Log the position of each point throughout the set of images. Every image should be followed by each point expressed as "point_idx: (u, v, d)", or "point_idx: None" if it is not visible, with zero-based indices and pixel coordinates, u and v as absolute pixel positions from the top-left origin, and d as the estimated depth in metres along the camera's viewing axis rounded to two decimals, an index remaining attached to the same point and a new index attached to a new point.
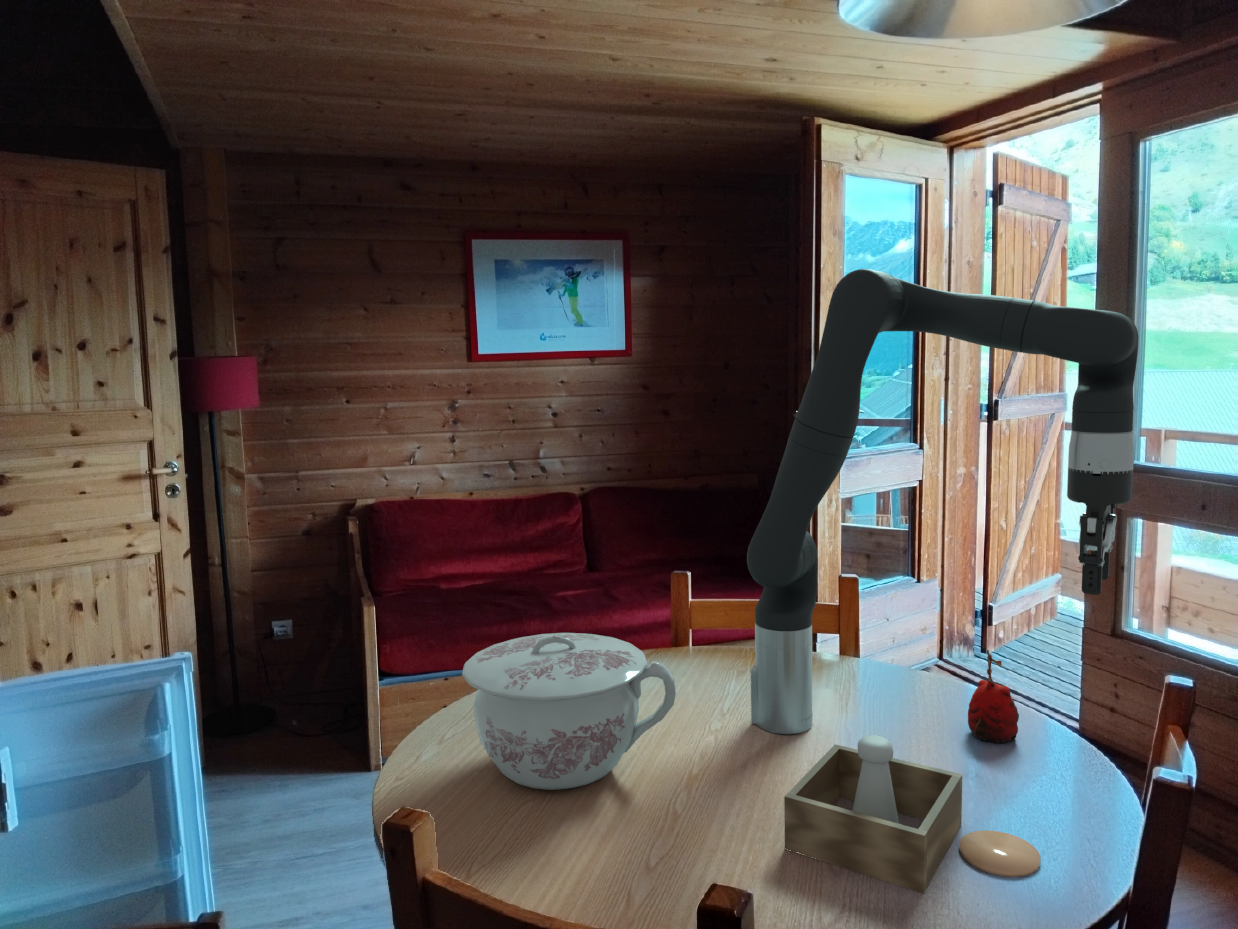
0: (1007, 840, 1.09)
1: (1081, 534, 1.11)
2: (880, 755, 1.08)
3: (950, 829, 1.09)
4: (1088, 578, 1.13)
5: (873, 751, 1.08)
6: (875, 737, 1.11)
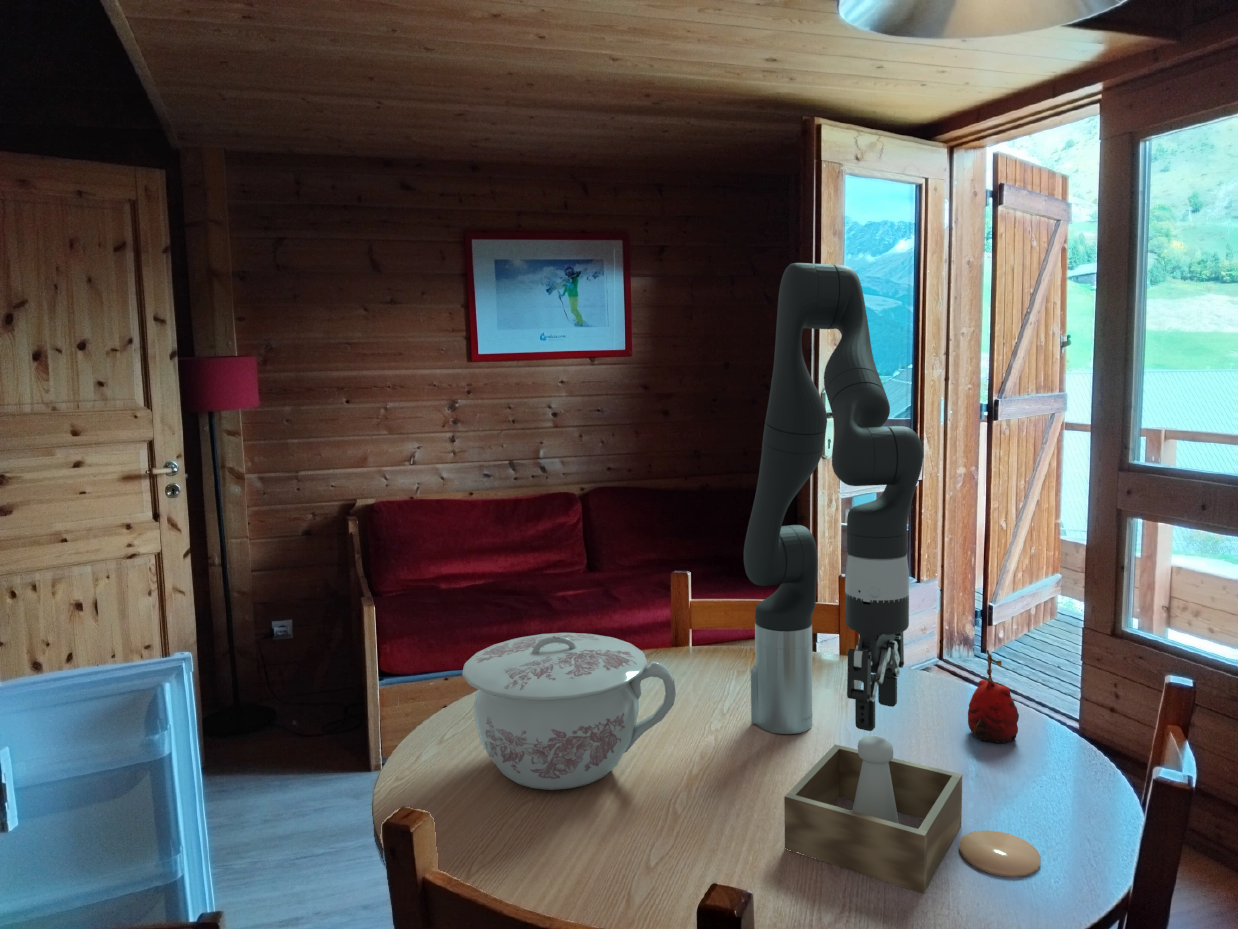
0: (1007, 840, 1.09)
1: (848, 668, 1.03)
2: (880, 755, 1.08)
3: (950, 829, 1.09)
4: (860, 714, 1.05)
5: (873, 751, 1.08)
6: (875, 737, 1.11)
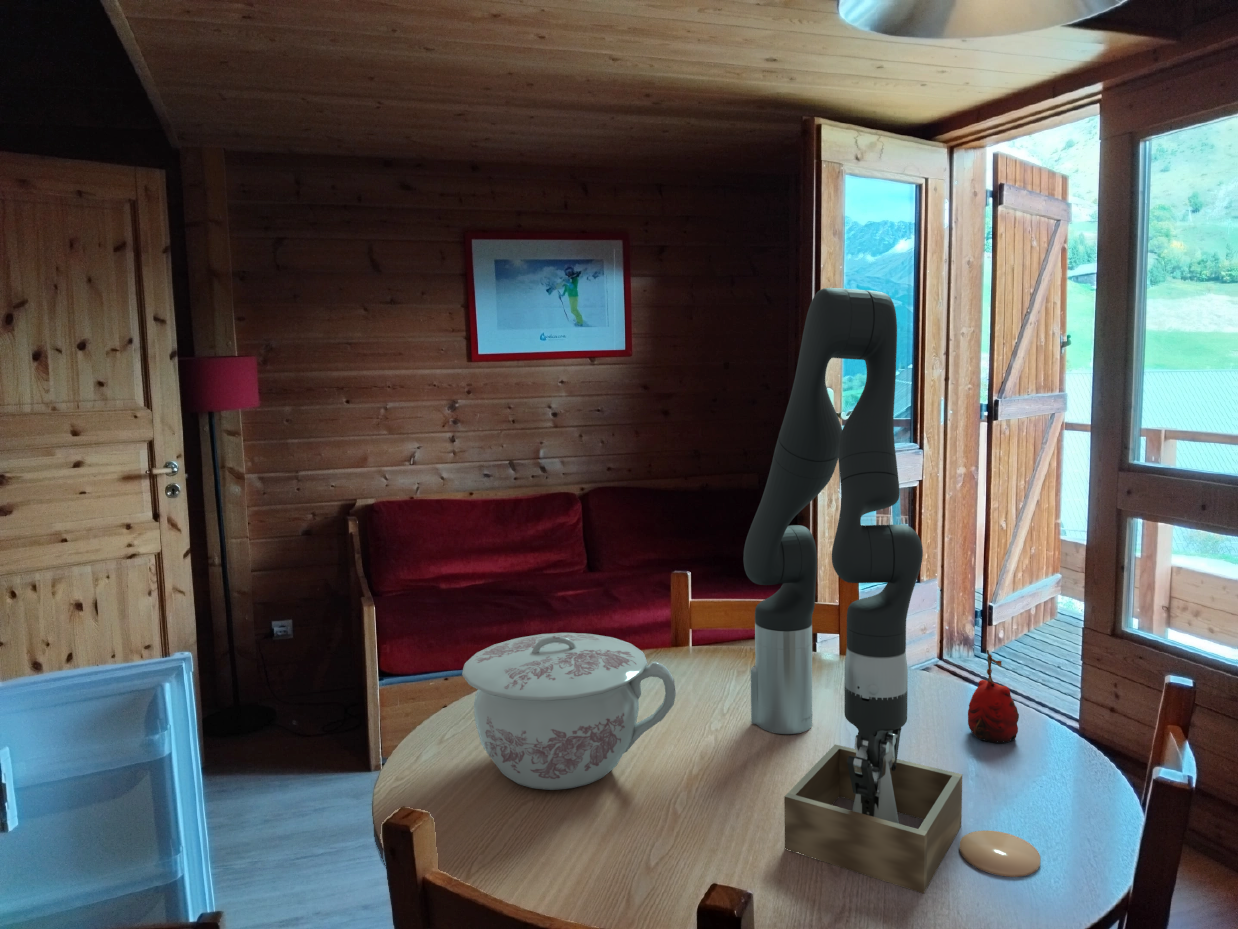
0: (1007, 840, 1.09)
1: (850, 774, 1.06)
2: None
3: (950, 829, 1.09)
4: (865, 807, 1.09)
5: None
6: None
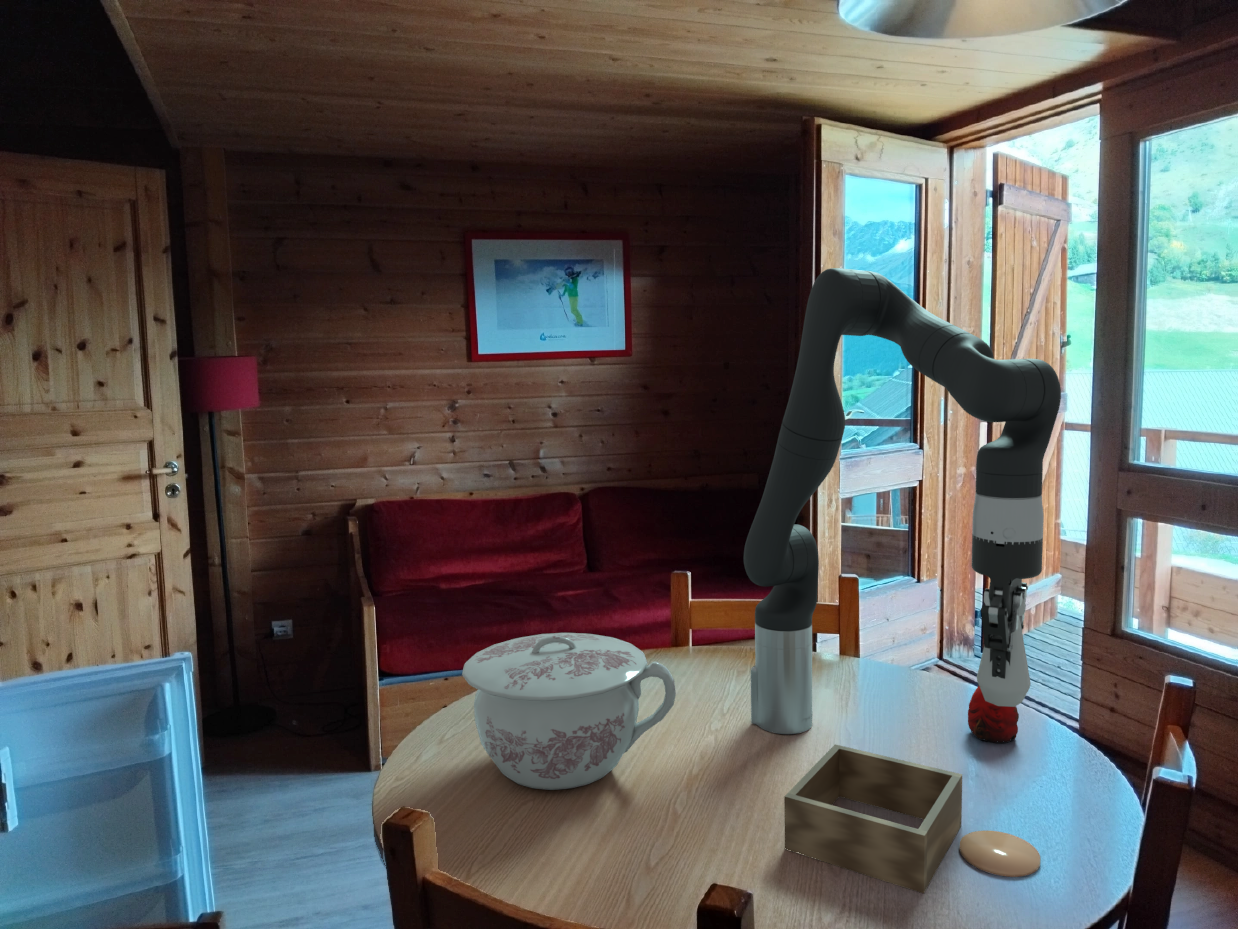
0: (1007, 840, 1.09)
1: (983, 625, 0.99)
2: None
3: (950, 829, 1.09)
4: (995, 664, 1.02)
5: None
6: None
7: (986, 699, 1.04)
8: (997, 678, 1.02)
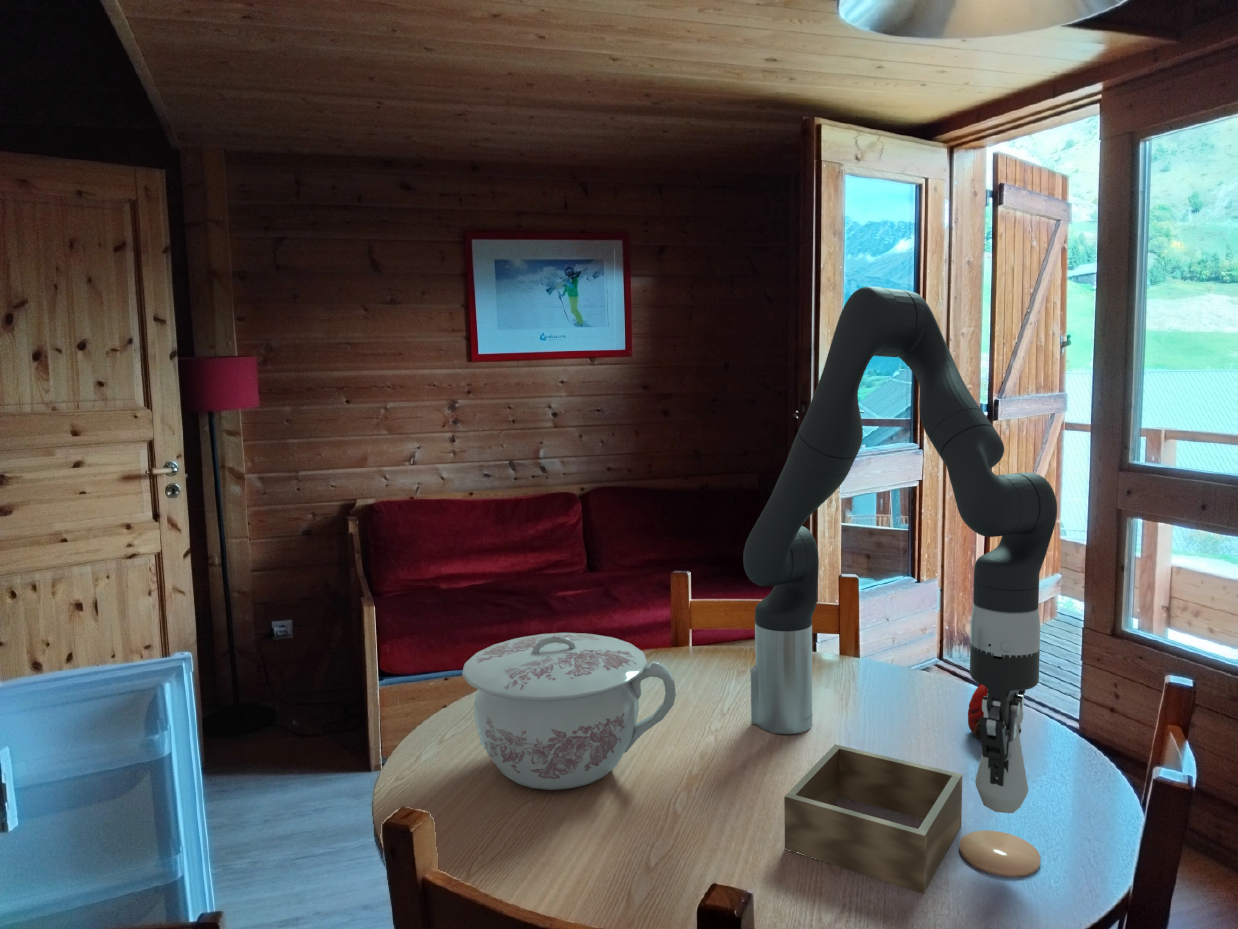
0: (1007, 840, 1.09)
1: (981, 736, 1.01)
2: None
3: (950, 829, 1.09)
4: (994, 772, 1.03)
5: None
6: None
7: (985, 804, 1.06)
8: (995, 786, 1.04)
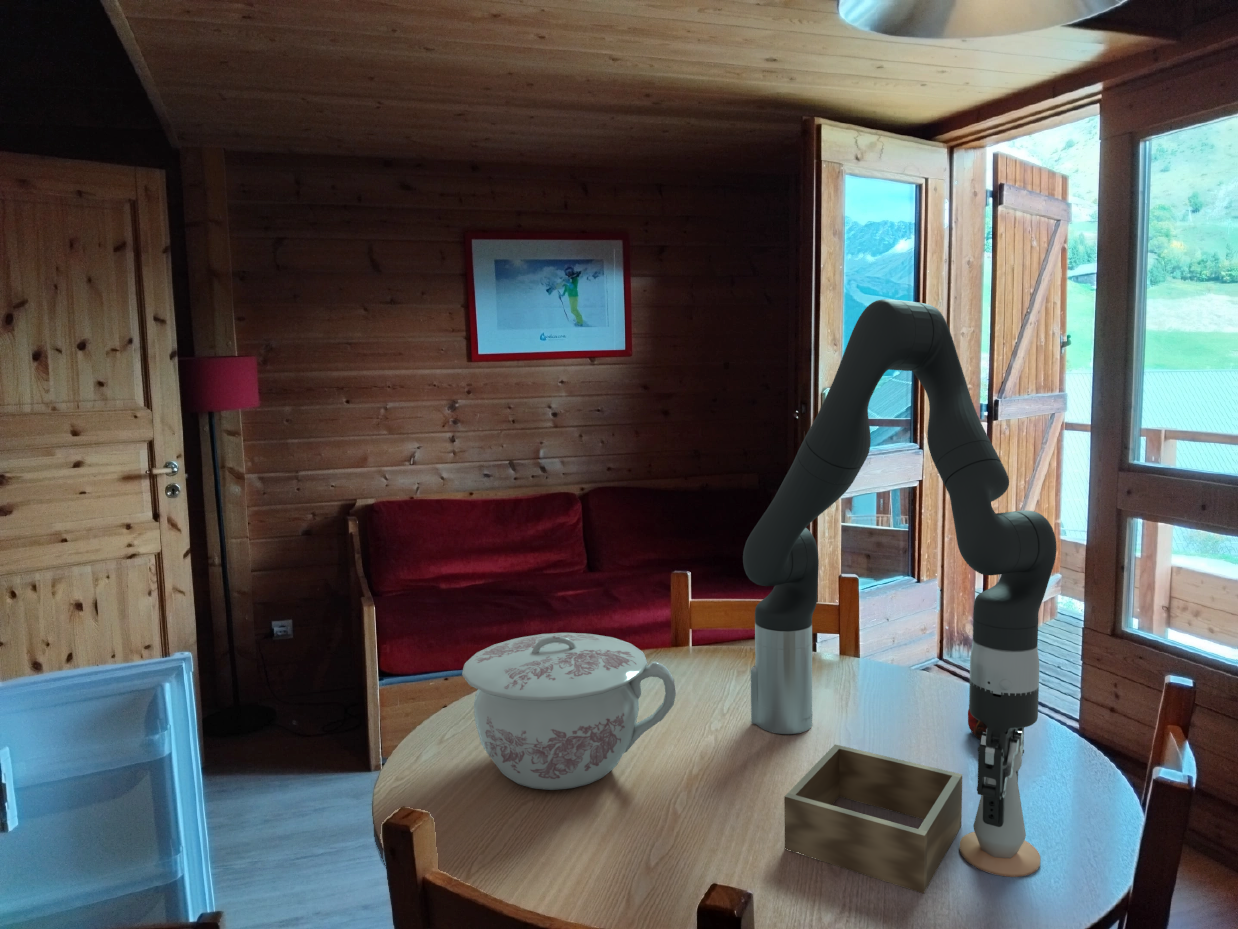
0: None
1: (979, 765, 1.00)
2: None
3: (950, 829, 1.09)
4: (989, 809, 1.02)
5: None
6: None
7: (982, 849, 1.07)
8: (994, 831, 1.04)
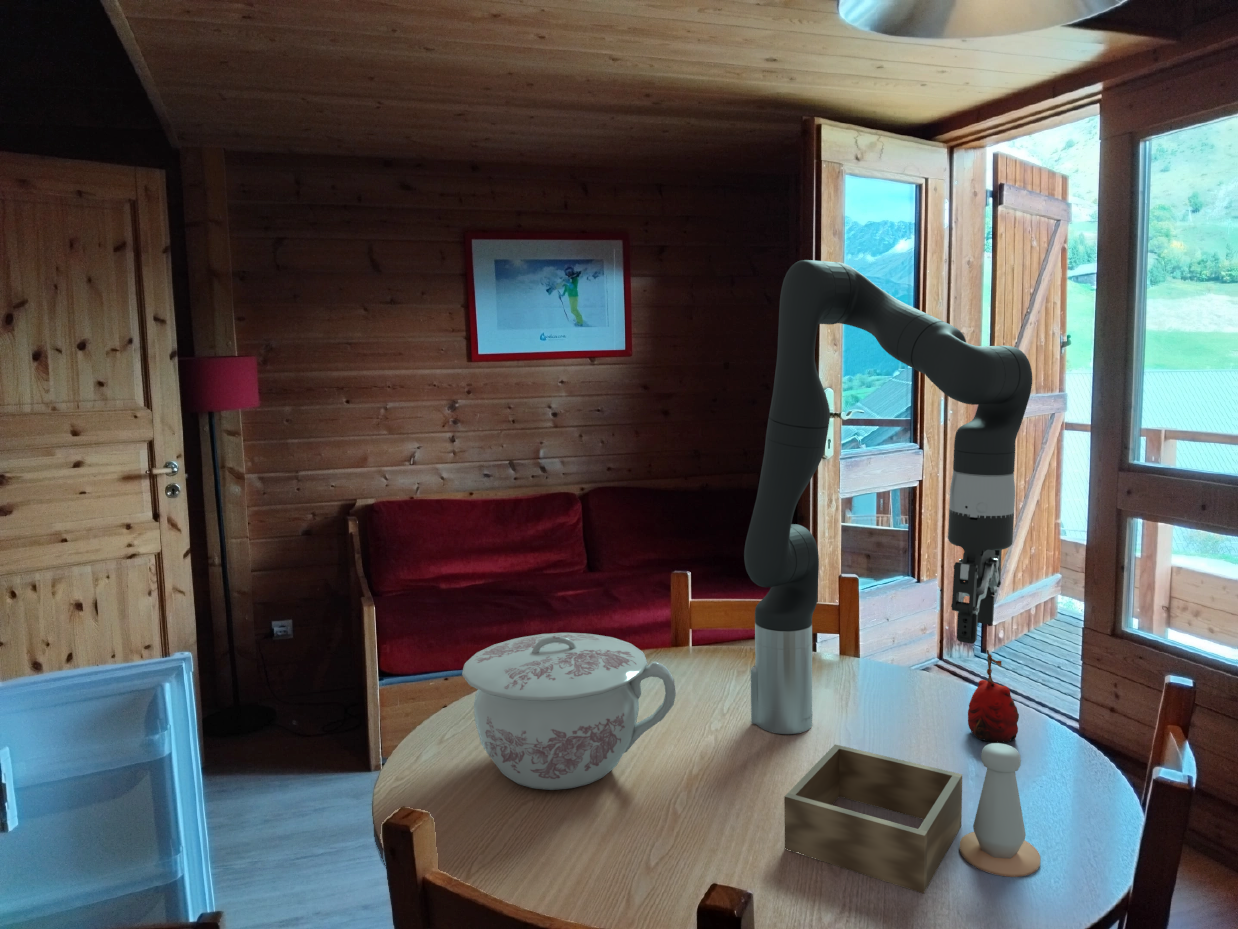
0: None
1: (954, 581, 1.06)
2: (1009, 764, 1.03)
3: (950, 829, 1.09)
4: (962, 626, 1.08)
5: (1002, 760, 1.04)
6: (1000, 745, 1.06)
7: (982, 849, 1.07)
8: (993, 832, 1.04)
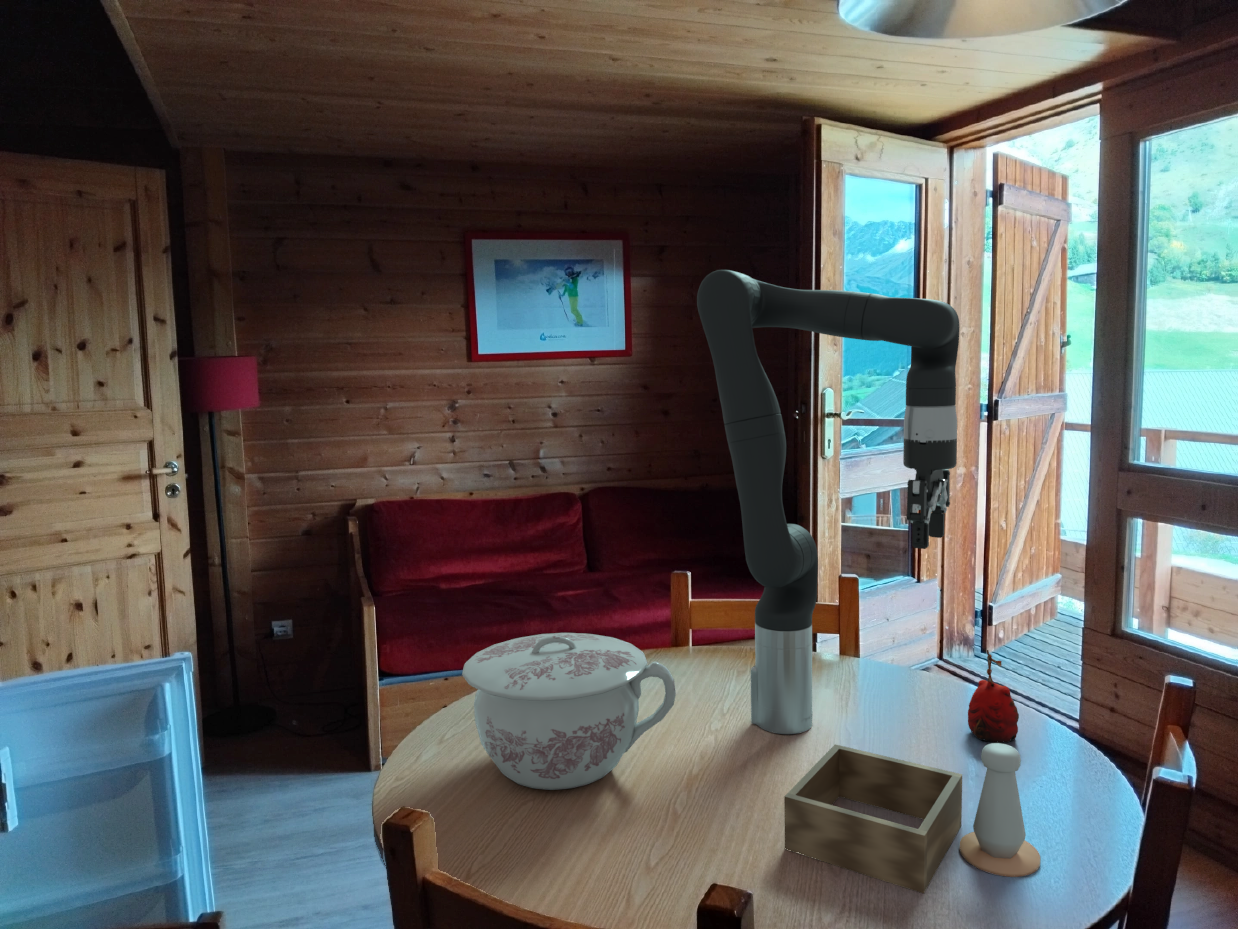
0: None
1: (908, 495, 1.27)
2: (1008, 764, 1.03)
3: (950, 829, 1.09)
4: (916, 534, 1.29)
5: (1002, 760, 1.04)
6: (1000, 745, 1.06)
7: (982, 849, 1.07)
8: (993, 832, 1.04)
